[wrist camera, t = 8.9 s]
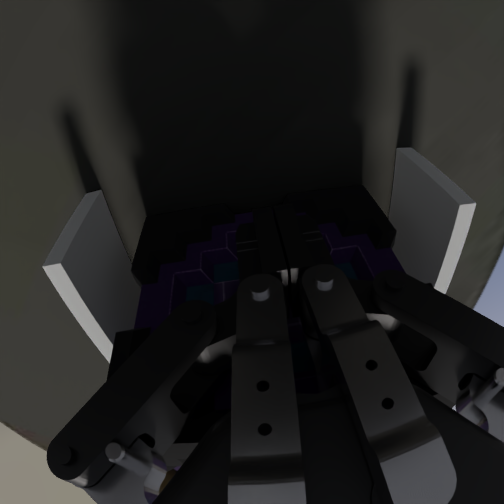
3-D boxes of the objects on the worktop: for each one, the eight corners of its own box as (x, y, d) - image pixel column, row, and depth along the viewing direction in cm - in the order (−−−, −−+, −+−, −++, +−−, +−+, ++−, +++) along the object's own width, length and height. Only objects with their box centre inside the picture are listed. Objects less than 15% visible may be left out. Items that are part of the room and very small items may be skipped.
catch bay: (85, 193, 16) (42, 266, 11) (411, 147, 16) (476, 203, 11) (174, 371, 27) (172, 431, 22) (372, 340, 27) (393, 397, 22)
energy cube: (363, 185, 17) (481, 375, 8) (346, 320, 24) (391, 462, 15) (146, 217, 17) (98, 440, 8) (196, 343, 24) (199, 493, 15)
